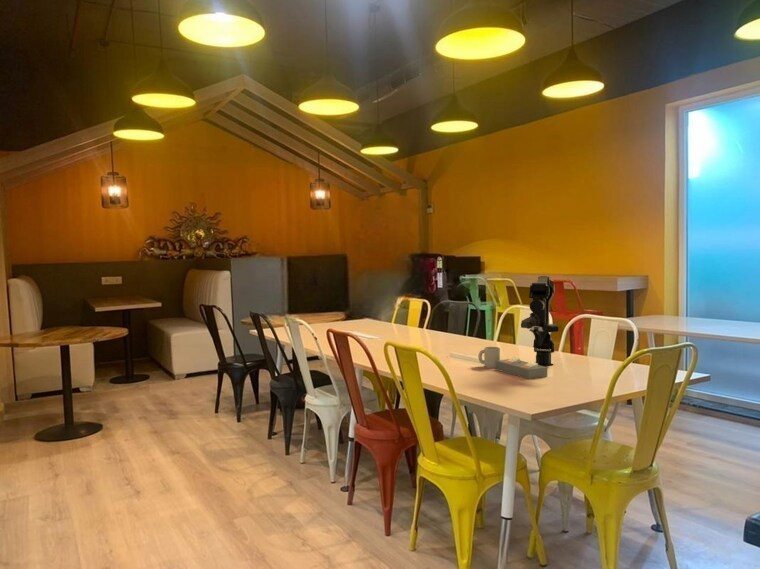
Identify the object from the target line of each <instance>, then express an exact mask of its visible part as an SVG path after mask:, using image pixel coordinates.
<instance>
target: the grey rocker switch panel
mask: <svg viewBox="0 0 760 569" xmlns="http://www.w3.org/2000/svg"><path fill="white" fill-rule="evenodd" d="M510 359H511V358H507V359H500V360H497V361H496V368H495V370H497V371H501V372H504V373H508V374H511V375H513V374H514V376H518V377H521V378H524V379H527V380H532V378H533V379H539V378H546V376H547V377H548V367H547V366H541V365H538V366H537V367H532V368H525V367H521V366H523V365H526V364H528V363H529V361H523V360H521V359H520V362H516V363H506V362H505V361H507V360H510Z"/></svg>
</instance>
